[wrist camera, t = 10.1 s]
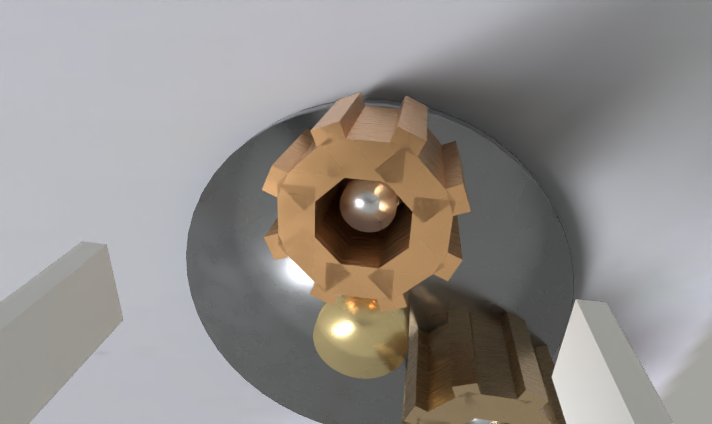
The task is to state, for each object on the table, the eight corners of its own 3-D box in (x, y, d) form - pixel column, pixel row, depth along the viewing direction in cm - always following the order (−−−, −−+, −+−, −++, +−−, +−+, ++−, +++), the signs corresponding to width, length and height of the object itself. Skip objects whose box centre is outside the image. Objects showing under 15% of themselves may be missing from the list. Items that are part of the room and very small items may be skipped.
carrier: (178, 83, 26) (88, 114, 19) (615, 117, 23) (691, 168, 16) (212, 392, 36) (161, 484, 29) (523, 440, 33) (546, 554, 26)
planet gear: (298, 87, 23) (258, 114, 18) (471, 100, 22) (484, 133, 17) (299, 236, 27) (266, 297, 22) (447, 253, 26) (452, 321, 21)
